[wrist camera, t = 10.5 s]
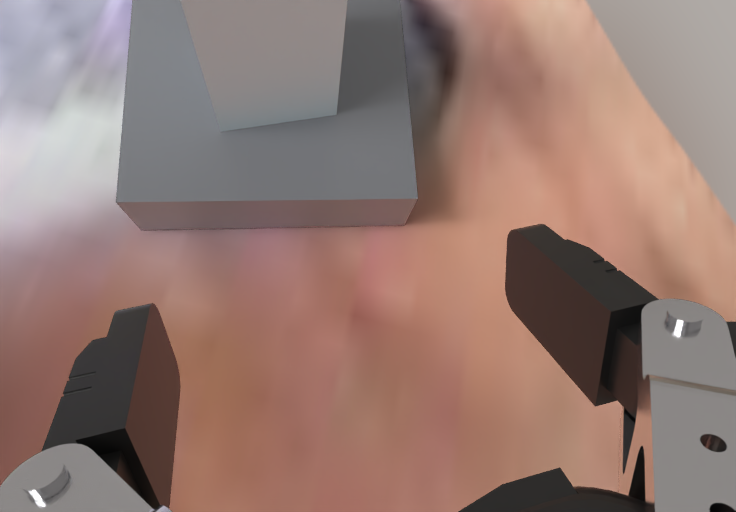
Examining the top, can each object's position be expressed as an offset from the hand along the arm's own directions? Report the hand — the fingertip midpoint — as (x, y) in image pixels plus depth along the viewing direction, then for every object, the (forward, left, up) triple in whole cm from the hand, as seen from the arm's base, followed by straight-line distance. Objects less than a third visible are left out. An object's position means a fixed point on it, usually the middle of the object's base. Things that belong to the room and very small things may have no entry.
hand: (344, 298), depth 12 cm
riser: (-2, +11, -10) cm, 15 cm away
